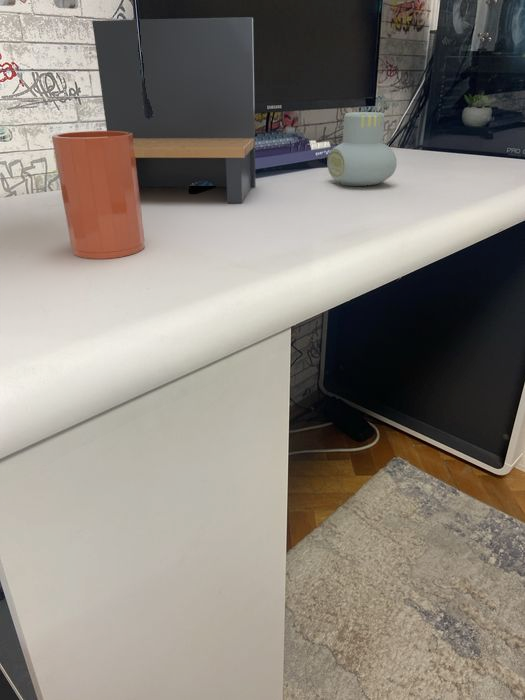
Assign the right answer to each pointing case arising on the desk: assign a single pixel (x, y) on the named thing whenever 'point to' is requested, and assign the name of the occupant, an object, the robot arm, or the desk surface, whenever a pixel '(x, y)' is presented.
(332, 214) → the desk surface
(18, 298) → the desk surface
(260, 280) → the desk surface
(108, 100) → the shelf rack
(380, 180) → the air freshener
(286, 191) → the desk surface
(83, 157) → the cup
